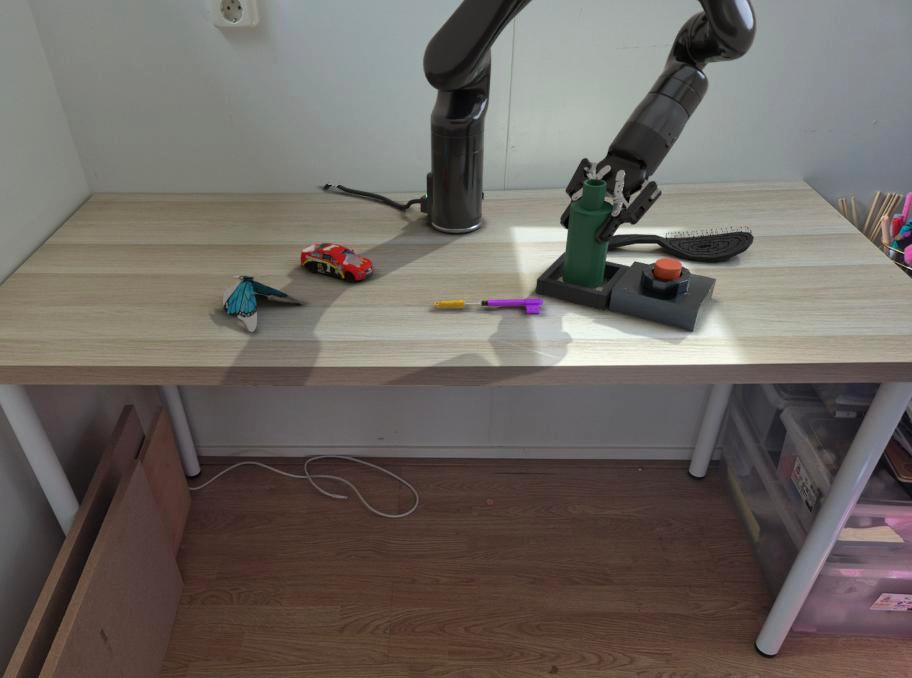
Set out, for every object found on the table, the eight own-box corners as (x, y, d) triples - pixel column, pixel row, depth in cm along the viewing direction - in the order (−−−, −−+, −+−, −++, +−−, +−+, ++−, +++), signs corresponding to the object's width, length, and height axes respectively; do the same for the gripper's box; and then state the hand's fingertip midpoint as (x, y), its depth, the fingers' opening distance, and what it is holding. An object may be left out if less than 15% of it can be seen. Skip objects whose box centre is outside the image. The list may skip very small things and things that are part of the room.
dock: (535, 293, 108) (536, 279, 107) (562, 265, 115) (564, 251, 114) (603, 311, 103) (606, 295, 102) (627, 280, 110) (630, 266, 109)
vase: (556, 284, 108) (567, 185, 99) (571, 268, 112) (582, 172, 103) (594, 293, 105) (608, 193, 96) (607, 276, 109) (623, 179, 100)
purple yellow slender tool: (542, 302, 105) (434, 304, 106) (542, 296, 104) (434, 298, 105) (543, 314, 103) (434, 316, 104) (544, 309, 102) (434, 311, 103)
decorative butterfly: (251, 262, 111) (292, 264, 105) (264, 300, 114) (304, 304, 108) (200, 287, 105) (240, 290, 99) (215, 326, 108) (255, 332, 101)
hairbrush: (593, 222, 122) (748, 219, 117) (591, 242, 124) (743, 240, 119) (596, 243, 115) (760, 241, 111) (594, 263, 117) (755, 262, 113)
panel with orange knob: (608, 310, 103) (613, 277, 100) (630, 282, 110) (636, 250, 106) (692, 332, 98) (701, 297, 94) (710, 301, 104) (719, 267, 101)
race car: (380, 273, 116) (379, 250, 113) (361, 286, 112) (359, 264, 110) (317, 255, 122) (314, 234, 119) (297, 268, 118) (294, 246, 116)
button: (650, 277, 100) (652, 265, 99) (657, 266, 103) (659, 256, 102) (675, 282, 99) (678, 271, 98) (682, 272, 101) (685, 261, 100)
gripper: (599, 109, 103) (534, 206, 105) (682, 131, 94) (608, 238, 95) (618, 138, 109) (556, 230, 111) (698, 162, 99) (628, 262, 101)
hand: (580, 233), depth 103 cm, fingers closed on vase, 6 cm apart
